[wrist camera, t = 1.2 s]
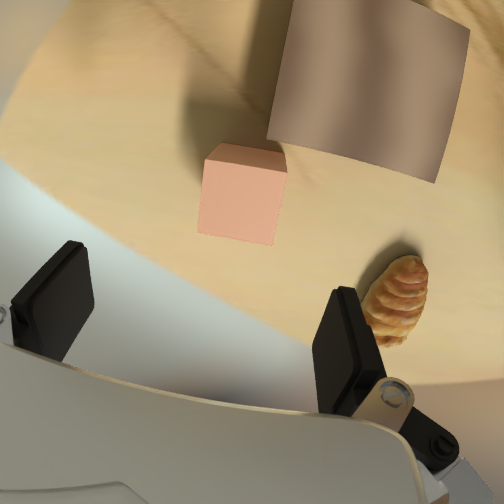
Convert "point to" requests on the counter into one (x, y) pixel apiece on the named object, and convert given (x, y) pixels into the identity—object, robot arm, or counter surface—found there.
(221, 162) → the terracotta block
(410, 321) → the pastry
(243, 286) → the counter surface
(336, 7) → the taupe streaked block
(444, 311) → the counter surface
